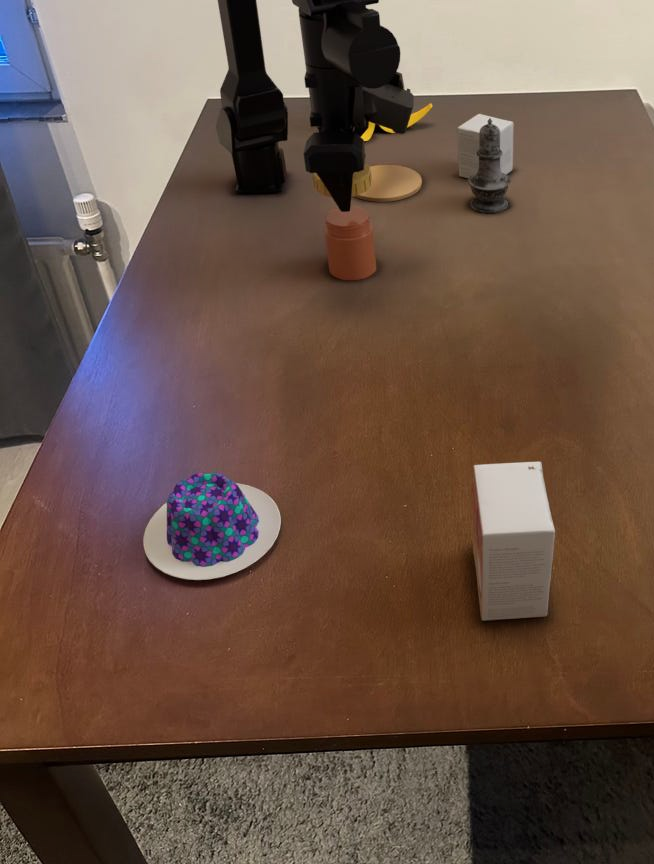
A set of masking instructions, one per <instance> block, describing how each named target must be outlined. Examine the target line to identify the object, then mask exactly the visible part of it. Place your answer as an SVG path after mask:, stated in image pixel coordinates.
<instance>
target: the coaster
mask: <svg viewBox="0 0 654 864" xmlns="http://www.w3.org/2000/svg"><path fill="white" fill-rule="evenodd" d="M369 167H370V171H371V180H372V181H371V187H370V188H369V189H368V190H367V191H366V192H364V193H362V194H360V195H356V196H354V198H357V199H359V200H363V201H368V202H374V203H375V202H376V203H389V202H396V201H402V200H404V199H407V198H409V197H412V196H414V195H415V194H417V193H418V192H419V191H420V190H421V188H422V186H423V179H422V176H421V175H420V174H419V172H417V171H416V170H414V169H412V168H410V167H406V166H403V165H398V164H397V165H396V164H377V165H371V166H370V165H369Z"/></svg>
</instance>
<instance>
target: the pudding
mask: <svg viewBox="0 0 654 864" xmlns="http://www.w3.org/2000/svg"><path fill="white" fill-rule="evenodd" d="M280 512H281V511H280V509H279V507H278V504H277V503H276V502H275V501H274V500H273V498H272V497H271V496H269V495H268V494H267V493H266V492H265V491H263V490H261V489H258V488H257V487H254V486H252V485H248V484H243V483H238V482H235V481H234V480H232V479H229V478H228V476H227V475H225V474H223V473H220V472H211V473H206V472H198V473H194V474H193V475H191V476H190V477H188V478H185V479H181V480H180V481H179V482H177V483H176V484H175V485H174V487H173V491H172V492H171V493H169V496H168V498H167V500H166V502H165V503H164V504H163V505H161V507H159V509H157V510H156V511H155V512H154V514H153V515H152V516H151V518H150V519H149V521H148V523H147V525H146V527H145V530H144V534H143V537H142V538H143V543H142V545H143V549H144V553H145V556H146V557H147V559H148V560H149V562H150V563H151V564H152V565H153V566H154V567H155V568H156V569H157V570H159V571H161V572H162V573H164V574H166V575H169V576H171V577H174V578H178V579H182V580H190V581H191V580H194V581H202V580H212V579H219V578H224V577H226V576H230V575H232V574H235V573H238V572H239V571H242V570H244V569H246V568H248V567H250V566H251V565H253V564H254V563H255V562H257V561H259V559H261V558H262V557H264V555H266V553H267V552H268V551H269V550H270V549H271V548H272V546H273V545H274V543H275V542H276V540H277V538H278V536H279V533H280V530H281V522H282V518H281V513H280Z"/></svg>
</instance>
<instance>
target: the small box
mask: <svg viewBox="0 0 654 864" xmlns="http://www.w3.org/2000/svg"><path fill="white" fill-rule="evenodd" d="M555 536H556V529H555V525H554V522H553V518H552V513H551V510H550V504H549V499H548V494H547V489H546V484H545V479H544V473H543V465H542V461H523V462H521V461H519V462H503V463H486V464H474V465H473V466H472V553H473V559H474V567H475V574H476V582H477V584H476V585H477V594H478V604H479V611H480V613H479V614H480V619H481V621H483V622H484V621H497V620H512V619H528V618H544V617H545V618H546V617H547V616H548V609H549V599H550V597H549V596H550V587H551V580H552V579H551V577H552V570H553V569H552V568H553V558H554V549H555V540H556V539H555V538H556V537H555Z"/></svg>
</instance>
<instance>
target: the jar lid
mask: <svg viewBox="0 0 654 864" xmlns="http://www.w3.org/2000/svg"><path fill="white" fill-rule="evenodd" d="M371 181H372V180H371V171H370V165H369V164H368V163H367V162H365V164H364V170H362V171H360V172H354V174H353V184H352V196H351V198H352V197H355V196H356V195H360V194H362V193H364V192H366V191H367V190H368V189H369V188H370V187H371ZM312 182H313V188H314V189H315V191H316V193H318V194H320V195H321V196H325V197H328V198H332V196H331V195H330V193H329V191H328V190H327V188H326V187H325V185H324V184H323V182H322V181H321V179H320V178H319V176H318V175H317V174H316V173H312Z"/></svg>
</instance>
